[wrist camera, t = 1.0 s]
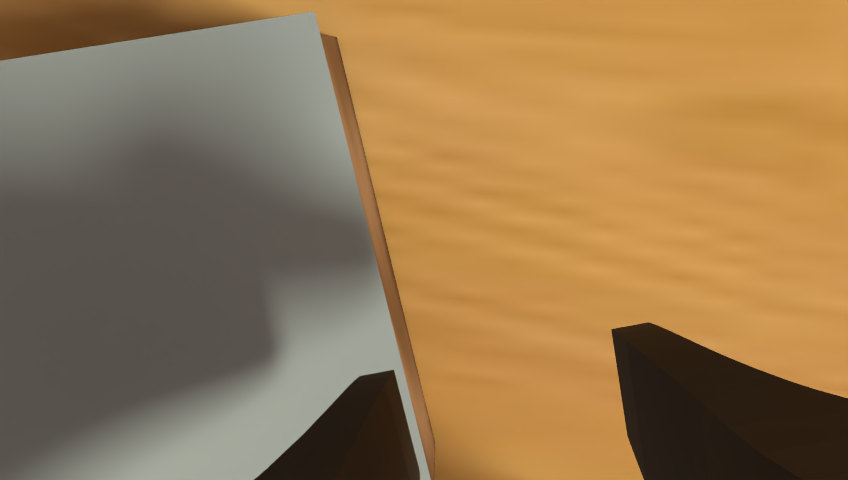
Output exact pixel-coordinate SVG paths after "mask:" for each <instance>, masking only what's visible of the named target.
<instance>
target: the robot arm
mask: <svg viewBox="0 0 848 480" xmlns="http://www.w3.org/2000/svg"><path fill="white" fill-rule="evenodd" d="M611 330H612V336H613V343H614V349H615V356H616V363H617V369H618V376H619V382H620V389H621V396H622V402H623V409H624V415H625V422H626V429H627V435H628V438H629V441H630V444H631V446H632V449H633V452H634V454H635V457H636V460H637V462H638V465H639V468H640V470H641V473H642V475H643V478H644V480H848V398H844V397H840V396H837V395H833V394H830V393H826V392H823V391H819V390H815V389H812V388H809V387H806V386H803V385H800V384H796V383H793V382H790V381H788V380H785V379H782V378H780V377H777V376H774V375H771V374H769V373H766V372H763V371H760V370H758V369H755V368H753V367H750V366H748V365H745V364H743V363H740V362H738V361H735V360H733V359H731V358H728V357H726V356H724V355H721V354H719V353H717V352H714V351H712V350H710V349H708V348H706V347H703V346H701V345H699V344H697V343H695V342H692V341H690V340H688V339H686V338H684V337H682V336H680V335H677V334H675V333H673V332H671V331H669V330H666V329H664V328H662V327H660V326H657V325H655V324H652V323H643V324H638V325H632V326H627V327H621V328H616V329H611ZM254 480H420V470H419V466H418V462H417V458H416V454H415V451H414V447H413V443H412V439H411V435H410V431H409V427H408V423H407V419H406V415H405V411H404V407H403V403H402V399H401V395H400V391H399V388H398V384H397V380H396V376H395V372H394V370H389V371H384V372H379V373H373V374H368V375H363V376H359V377H358V378H357V379H356V380H354V381H353V382H352V383H351V384H350V385H349V386H348V387H347V388H346V389H345V390H344V392H343V393H342V394H341V395H340V396H339V397H338V398H337V399H336V400H335V401H334V402H333V403H332V404H331V406H330V407H329V408H328V409H327V410H326V411H325V412H324V413H323V414H322V415H321V416H320V417H319V418H318V419H317V420H316V421H315V422H314V423H313V424H312V426H311V427H310V428H309V429H308V430H307V431H306V432H305V433H304V434H303V435H302V436H301V437H300V438H299V439H298V440H297V441H295V442H294V443H293V444H292V445H291V446H290V447H289V448H288V449H287V450H286V451H285V452H284V453H283V454H282V455H281V456H280V457H279V458H278V459H276V460H275V461H274V462H273V463H272V464H271V465H270V466H269V467H268V468H267V469H266V470H265V471H263V472H262V473H261V474H260V475H259V476H258V477H257V478H255V479H254Z"/></svg>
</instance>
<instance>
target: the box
mask: <svg viewBox="0 0 848 480" xmlns="http://www.w3.org/2000/svg"><path fill="white" fill-rule="evenodd" d="M320 36H321V40H322V44H323V48H324V52H325V56H326V60H327V64H328V68H329V72H330V76H331V80H332V84H333V88H334V92H335V96H336V100H337V104H338V108H339V112H340V116H341V120H342V124H343V128H344V132H345V136H346V140H347V144H348V148H349V152H350V157H351V161H352V165H353V169H354V173H355V177H356V181H357V185H358V189H359V193H360V197H361V201H362V205H363V209H364V213H365V217H366V221H367V225H368V229H369V233H370V237H371V241H372V245H373V249H374V253H375V257H376V261H377V265H378V269H379V273H380V277H381V281H382V285H383V289H384V293H385V297H386V301H387V305H388V309H389V313H390V317H391V322H392V326H393V330H394V334H395V338H396V342H397V346H398V350H399V354H400V358H401V362H402V366H403V370H404V374H405V378H406V382H407V386H408V390H409V394H410V398H411V402H412V406H413V410H414V414H415V418H416V422H417V426H418V430H419V434H420V438H421V442H422V446H423V450H424V454H425V458H426V462H427V466H428V470H429V474H430V478H431V480H434V464H435V441H434V437H433V433H432V429H431V425H430V420H429V416H428V412H427V408H426V404H425V400H424V396H423V392H422V387H421V383H420V379H419V375H418V371H417V367H416V363H415V359H414V354H413V350H412V346H411V342H410V338H409V334H408V330H407V326H406V321H405V317H404V313H403V309H402V305H401V301H400V297H399V293H398V288H397V284H396V280H395V276H394V272H393V268H392V264H391V260H390V255H389V251H388V247H387V243H386V239H385V235H384V231H383V227H382V222H381V218H380V214H379V210H378V206H377V202H376V198H375V194H374V189H373V185H372V181H371V177H370V173H369V169H368V165H367V161H366V156H365V152H364V148H363V144H362V140H361V136H360V132H359V128H358V123H357V119H356V115H355V111H354V107H353V103H352V99H351V95H350V90H349V86H348V82H347V78H346V74H345V70H344V66H343V61H342V57H341V53H340V49H339V45H338V41H337V37H330V36H323V35H320Z"/></svg>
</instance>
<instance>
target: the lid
mask: <svg viewBox="0 0 848 480" xmlns="http://www.w3.org/2000/svg"><path fill="white" fill-rule="evenodd" d="M389 370H394V372H395V376H396V380H397V384H398V388H399V391H400V395H401V399H402V403H403V407H404V411H405V415H406V419H407V423H408V427H409V431H410V435H411V439H412V443H413V447H414V451H415V454H416V458H417V462H418V466H419V470H420V480H431V478H430V474H429V470H428V466H427V462H426V458H425V454H424V450H423V446H422V442H421V438H420V434H419V430H418V426H417V422H416V418H415V414H414V410H413V406H412V402H411V398H410V394H409V390H408V386H407V382H406V378H405V374H404V370H403V366H402V362H401V358H400V354H399V350H398V346H397V342H396V338H395V334H394V330H393V326H392V322H391V317H390V313H389V309H388V305H387V301H386V297H385V293H384V289H383V285H382V281H381V277H380V273H379V269H378V265H377V261H376V257H375V253H374V249H373V245H372V241H371V237H370V233H369V229H368V225H367V221H366V217H365V213H364V209H363V205H362V201H361V197H360V193H359V189H358V185H357V181H356V177H355V173H354V169H353V165H352V161H351V157H350V152H349V148H348V144H347V140H346V136H345V132H344V128H343V124H342V120H341V116H340V112H339V108H338V104H337V100H336V96H335V92H334V88H333V84H332V80H331V76H330V72H329V68H328V64H327V60H326V56H325V52H324V48H323V44H322V40H321V36H320V32H319V28H318V24H317V20H316V16H315V12H308V13H301V14H295V15H289V16H282V17H276V18H269V19H263V20H257V21H250V22H244V23H238V24H231V25H225V26H218V27H212V28H206V29H199V30H193V31H187V32H180V33H174V34H167V35H161V36H155V37H148V38H142V39H136V40H129V41H123V42H116V43H110V44H104V45H97V46H91V47H85V48H78V49H72V50H65V51H59V52H53V53H46V54H40V55H33V56H27V57H21V58H14V59H8V60H2V61H0V480H254V479H255V478H257V477H258V476H259V475H260V474H261V473H262V472H263V471H265V470H266V469H267V468H268V467H269V466H270V465H271V464H272V463H273V462H274V461H275V460H276V459H278V458H279V457H280V456H281V455H282V454H283V453H284V452H285V451H286V450H287V449H288V448H289V447H290V446H291V445H292V444H293V443H294V442H295V441H297V440H298V439H299V438H300V437H301V436H302V435H303V434H304V433H305V432H306V431H307V430H308V429H309V428H310V427H311V426H312V424H313V423H314V422H315V421H316V420H317V419H318V418H319V417H320V416H321V415H322V414H323V413H324V412H325V411H326V410H327V409H328V408H329V407H330V406H331V404H332V403H333V402H334V401H335V400H336V399H337V398H338V397H339V396H340V395H341V394H342V393H343V392H344V390H345V389H346V388H347V387H348V386H349V385H350V384H351V383H352V382H353V381H354V380H356V379H357V378H358V377H359V376H363V375H368V374H373V373H379V372H384V371H389Z"/></svg>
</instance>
